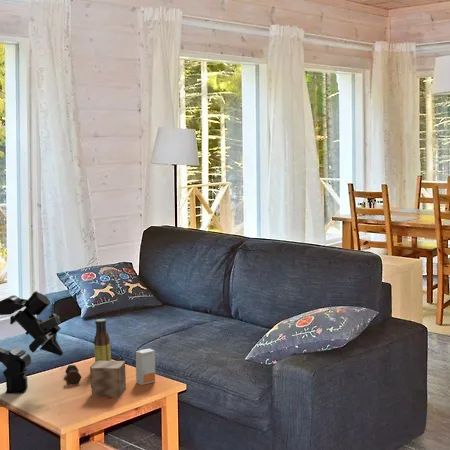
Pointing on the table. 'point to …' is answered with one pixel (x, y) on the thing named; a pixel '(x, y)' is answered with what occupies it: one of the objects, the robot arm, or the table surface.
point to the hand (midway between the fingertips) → (62, 354)
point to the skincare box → (145, 366)
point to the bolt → (72, 375)
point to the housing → (108, 378)
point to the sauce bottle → (102, 342)
